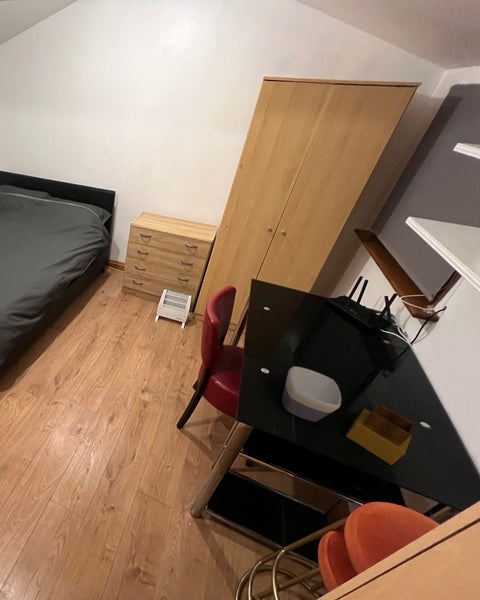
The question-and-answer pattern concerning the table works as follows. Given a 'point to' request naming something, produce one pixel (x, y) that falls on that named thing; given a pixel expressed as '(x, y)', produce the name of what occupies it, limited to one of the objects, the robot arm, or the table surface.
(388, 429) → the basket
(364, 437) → the box
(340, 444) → the table surface
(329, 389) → the bowl
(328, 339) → the table surface
